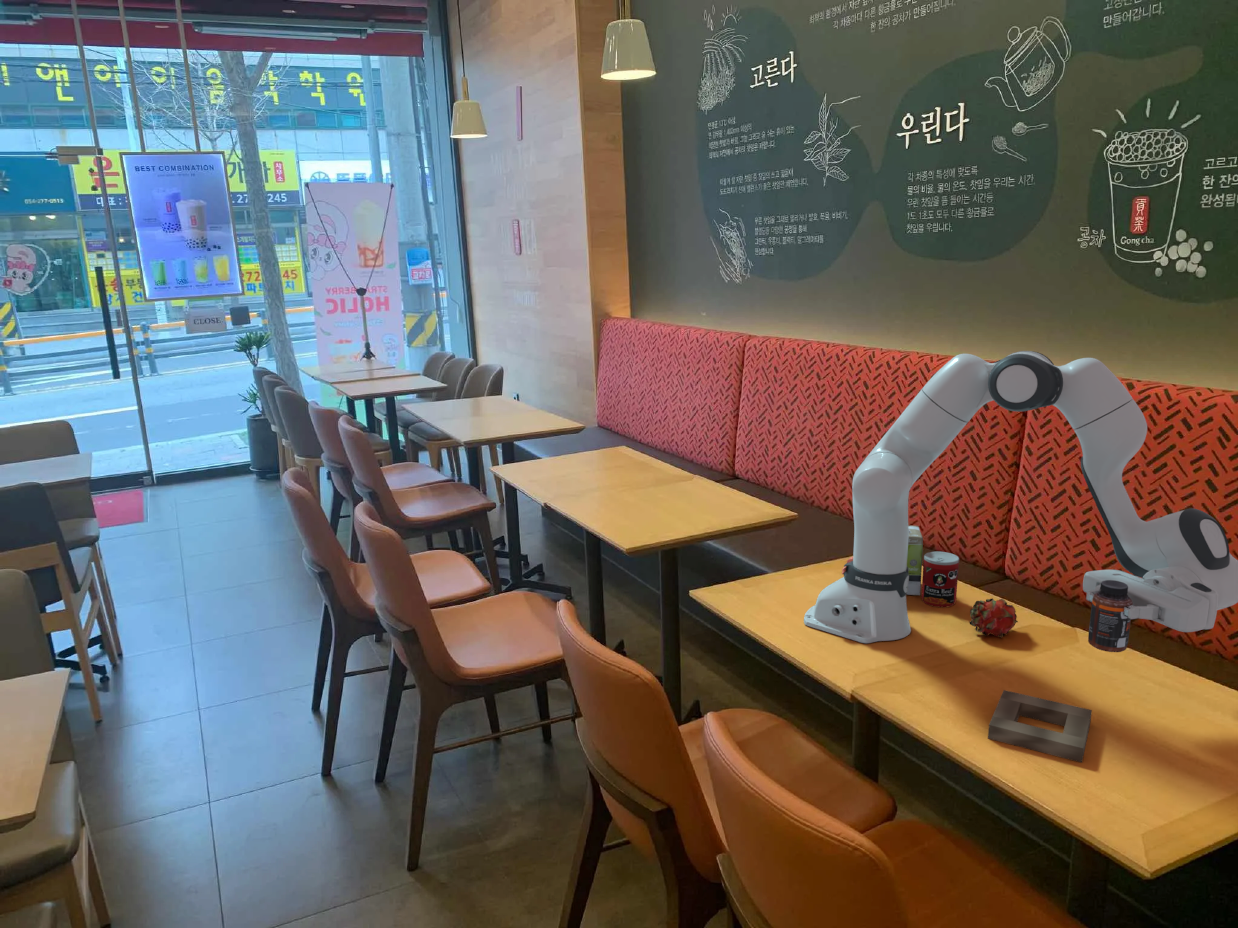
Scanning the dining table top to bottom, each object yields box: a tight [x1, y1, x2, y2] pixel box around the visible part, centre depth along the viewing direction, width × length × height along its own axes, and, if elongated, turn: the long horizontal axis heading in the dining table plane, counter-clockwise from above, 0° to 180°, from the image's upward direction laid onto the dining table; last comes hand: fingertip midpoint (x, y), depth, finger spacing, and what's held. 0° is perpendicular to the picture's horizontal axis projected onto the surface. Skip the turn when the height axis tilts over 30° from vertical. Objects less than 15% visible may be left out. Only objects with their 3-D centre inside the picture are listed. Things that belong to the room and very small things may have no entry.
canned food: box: [920, 550, 960, 608], centre depth 202 cm, size 8×8×11 cm
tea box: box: [906, 525, 924, 596], centre depth 211 cm, size 15×10×15 cm
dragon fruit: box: [968, 597, 1019, 639], centre depth 185 cm, size 8×8×12 cm
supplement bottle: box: [1087, 580, 1133, 653], centre depth 147 cm, size 6×6×11 cm
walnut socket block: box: [987, 689, 1093, 764], centre depth 147 cm, size 14×14×2 cm
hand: (1108, 604), depth 147 cm, fingers closed on supplement bottle, 6 cm apart
